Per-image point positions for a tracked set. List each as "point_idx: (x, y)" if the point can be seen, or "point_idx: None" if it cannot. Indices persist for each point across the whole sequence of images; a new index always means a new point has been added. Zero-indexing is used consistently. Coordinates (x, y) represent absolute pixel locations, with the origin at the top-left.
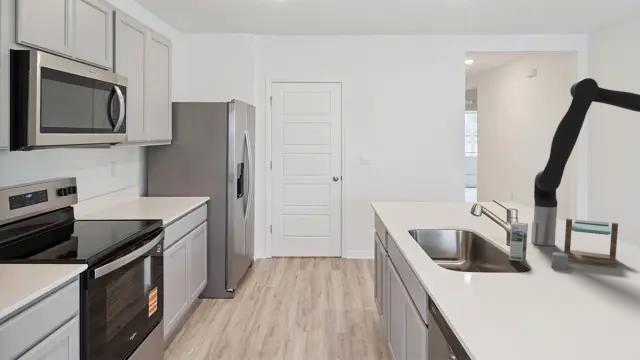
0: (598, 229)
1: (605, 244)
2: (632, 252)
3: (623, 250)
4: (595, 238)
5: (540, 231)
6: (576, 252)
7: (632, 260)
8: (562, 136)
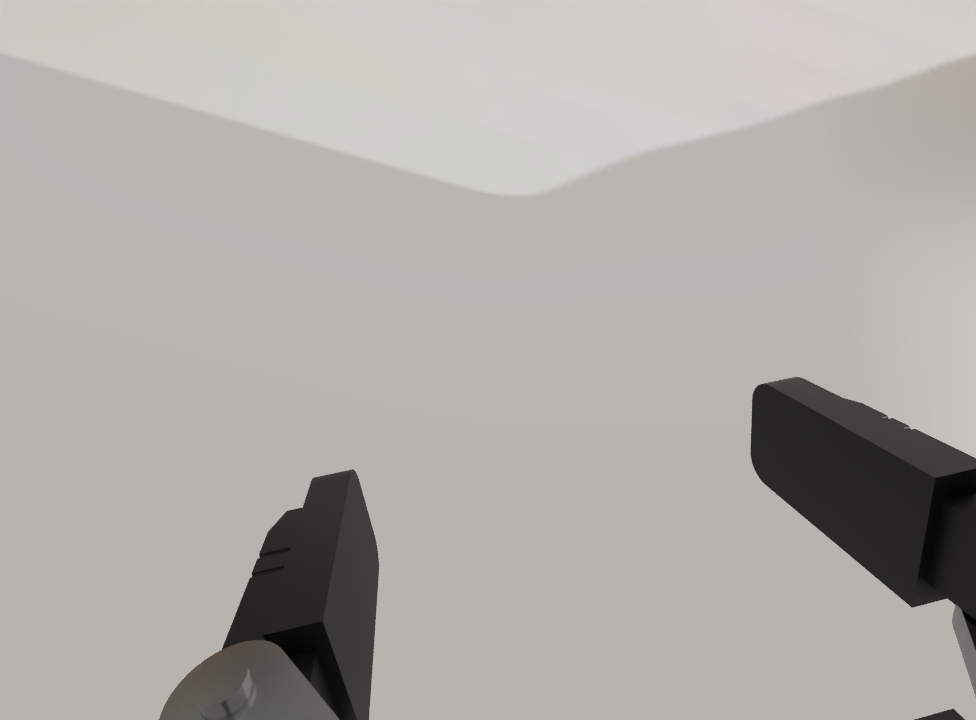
0: None
1: (549, 23)
2: (338, 138)
3: (380, 95)
4: (750, 13)
5: None
6: None
7: (37, 51)
8: None
